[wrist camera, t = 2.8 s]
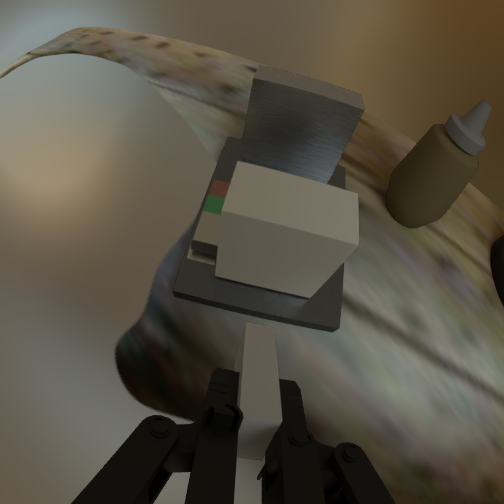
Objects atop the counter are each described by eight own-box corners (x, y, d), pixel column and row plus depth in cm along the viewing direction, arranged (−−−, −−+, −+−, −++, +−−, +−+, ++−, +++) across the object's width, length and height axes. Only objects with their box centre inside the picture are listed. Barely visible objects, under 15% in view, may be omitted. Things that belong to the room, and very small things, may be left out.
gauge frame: (340, 175, 34) (379, 101, 24) (332, 332, 25) (408, 282, 15) (226, 145, 34) (238, 60, 24) (174, 296, 24) (155, 220, 14)
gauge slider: (317, 228, 28) (356, 163, 20) (310, 298, 24) (358, 245, 16) (207, 201, 27) (212, 125, 19) (185, 268, 24) (178, 200, 16)
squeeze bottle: (426, 248, 31) (525, 149, 16) (371, 215, 32) (459, 93, 16) (430, 204, 35) (507, 111, 19) (382, 174, 36) (449, 66, 20)
